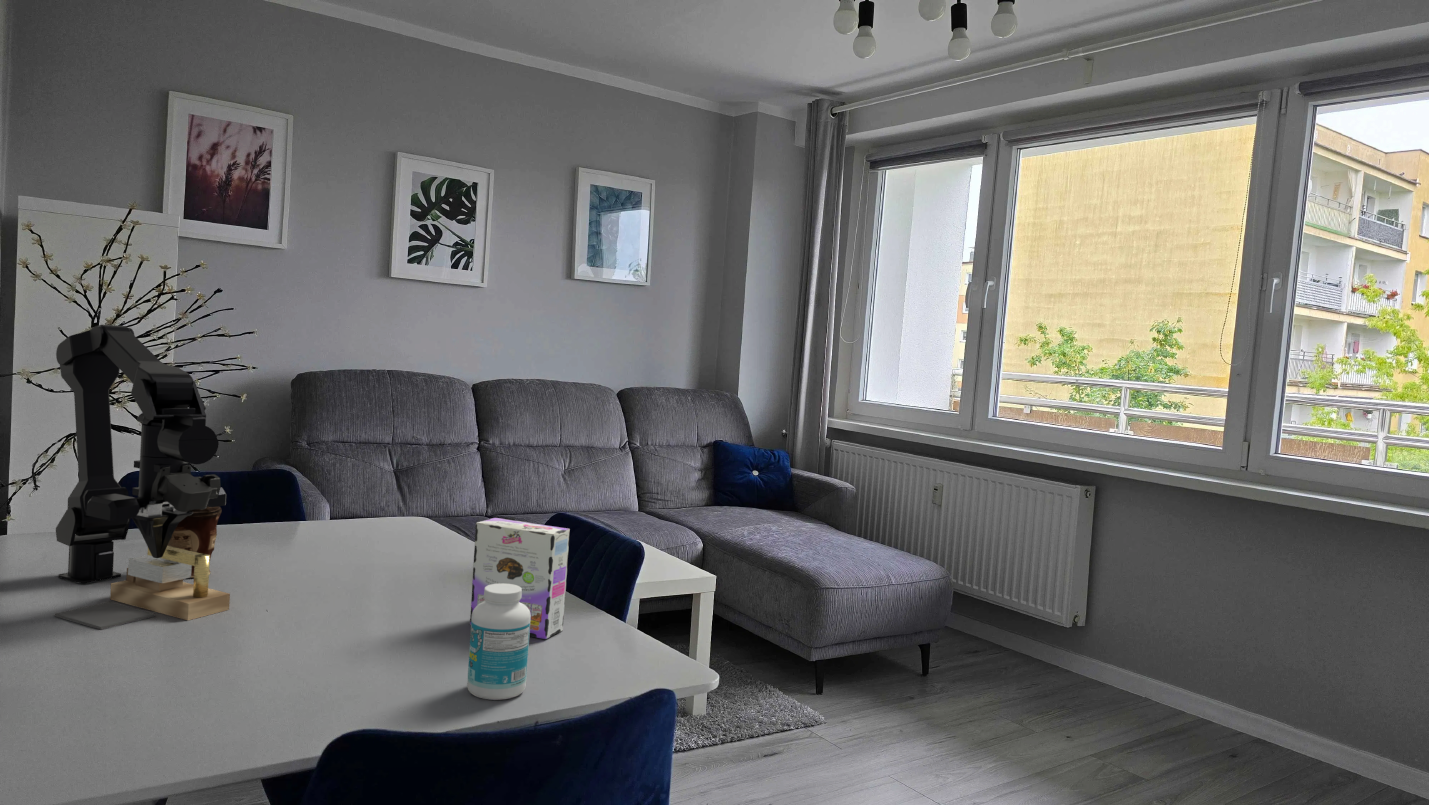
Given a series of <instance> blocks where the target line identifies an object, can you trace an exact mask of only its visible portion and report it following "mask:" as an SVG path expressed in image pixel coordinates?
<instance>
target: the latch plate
mask: <svg viewBox="0 0 1429 805" xmlns="http://www.w3.org/2000/svg"><path fill="white" fill-rule="evenodd" d="M125 577H126V579H125V580H120V581H116V582H111V583H110V595H109V599H110V601H111V600H112V601H114V602H119V603H122V604H124V605H125V604H126V605H130V606H133V607H137V608H141V609H143V610H147V611H148V610H149V611H151V612H156V613H159V614H162V615H166V616H169V617H174V618H178V619H180V620H186V621H191V620H192V621H193V620H195V619H198V618H202V617H206V616H211V615H213V614H217V613H222V612H225V611H229V610H230V603H231V602H230V600H231V593H229V592H225V591H220V590H217V589H213V588H209V587H208V596H206V597H193V584H194V583H190V582H189V583H188V582H186V581H184V579H181V580H176V581H172V582H167V583H158V582H154V581H150V580H146V579H142V578H139V577H135V576H131V575H128V567H126V576H125Z"/></svg>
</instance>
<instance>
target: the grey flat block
mask: <svg viewBox="0 0 1429 805" xmlns="http://www.w3.org/2000/svg"><path fill="white" fill-rule="evenodd" d="M127 568H128V575H131V576H135V577H139V578H142V579H146V580H150V581H154V582H158V583H167V582H172V581H176V580H181V579H183V580H186V579H189V578H192V577H191V568H192V565H188V564H183V563H179V562H175V561H171V560H167V559H162V558H153V557H152V556H150V555H142V556H136V557H132V558H128V567H127Z"/></svg>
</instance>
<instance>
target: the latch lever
mask: <svg viewBox="0 0 1429 805" xmlns="http://www.w3.org/2000/svg"><path fill="white" fill-rule="evenodd" d="M147 555H150V556H152V555H151V552H150V550H149V548H148V547H147ZM147 555H146V556H147ZM161 558H162V559H167V560H171V561H175V562H179V563H183V564H188V565H192V566H194V577H193V583H192V584H193V597H206V596H208V588H209V583H210V575H209V569H210V563H211V559H210V555H209V554H201V553H197V552H192V551H188V550H184V549H179V548H175V547H171V546H167V548H166V550H165V552H164V554H163V557H161Z"/></svg>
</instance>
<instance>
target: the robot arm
mask: <svg viewBox="0 0 1429 805" xmlns="http://www.w3.org/2000/svg"><path fill="white" fill-rule="evenodd" d="M55 355H56V361H57V363H58V365H59V369H60V370H59V372H60V376H61V378H62V379H63V380H64V382H65V383H66V384H67V386H68V387H69V388H70V389H71V391H72V392H73V395H74V396H73V397H74V400H73V401H74V415H75V432H76V433H75V435H76V436H75V437H76V452H77V453H76V454H77V455H76V456H77V470H78V474H77V475H78V481H77V484H76V485H75V486H74V488H73V490H72V491H71V493H70V494H69V496H68V498H67V509H66V510H65V512H64V513H63V515H62V517H61V519H60V520H59V522H58V524H57V525H56V527H55V535H56V542H58V543H60V544H63V545H66V546H67V547H68V564H67V566H68V569H67V572H64V573H59V574H58V575H57V577H58V578H59V579H63V580H65V581H70V582H74V583H77V584H84V585H85V584H91V583H96V582H102V581H105V580H110V579H115V578H120V577H122V573H120V572H117V571H114V562H115V561H114V559H115V558H114V556H115V553H114V545H115V543H114V541H120V540H121V541H125V540H126V539H127V535H128V532H129V528H130V524H131V519H132V521H133V522H134V524H135V526H136V527H137V529H138V530H139V531H140V534H141V535H142V537H143V539H144V541H145V544H146V546H147V549H148V548H149V550H150V552H151V555H152V557H153V558H161V557H163V554H164V552H165V550H166V548H167V545H168V543H169V541H170V539H171V537H172V534H173V532H174V530H175V529H176V527H177V525H178V523H179V522H180V521H182V520H183V519H184V518H185V517H187V516H189V515H192V514H193V511H190V510H195V509H200V510H203V509H206V507H207V506H208V507H217V506H219V507H223V506H226V504H227V493H226V491H225V490H224V488H223V487H221V477H219V475H217V474H215V473H214V474H204V475H202V476H193V475H192V466H191V465H202V464H205V463H208V462H209V461H210V460H212V459H213V457H215V455H216V453H218V452H217V451H218V449H219V439H218V436H217V434H216V433H215V431H214V430H213V429H212V428H211V427H209V426H207V425H206V423H207V414H206V409H207V407H206V405H205V402H204V400H203V399H202V397H201V395H200V393H199V390H198V387H197V384H196V382H195V381H194V379H193V377H192V375H191V374H190V373H188V372H186V371H185V370H183V369H182V368H180V367H177V366H174V365H173V366H172V365H169V364H166V363H164V362H162V361H161V360H160V359H159V358H158V357H157V356H156V355H154V353H152V352H151V350H150V349H149V348H148V347H147V346H146V345H145V344H144V343H143V342H142V341H140V340H139V339H138V338H137V336H135V332H134V329H133V328H131V327H128V326H127V325H116V324H99V325H95V326H94V327H92V328H90V330H85V331H81V332H78V333H75V334H72V335H69V336H68V337H66V338H65V339H63V341H61V342H60V343H59V344H58V345H57V347H56V352H55ZM120 371H121V372H122V373H123V375H125V376H126V377H127V379H128V380H130V382H131V384H132V387H131V388H132V389H131V391H130V395H132V397H133V399H134V401H135V403H136V404H137V406H138V408H139V410H140V411H141V413H139V415H138V416H137V418H136V421H137V422H139V423H141V427H140V428H141V430H140V433H141V434H140V448H139V449H140V450H139V451H140V452H139V453H140V454H139V460H133V468H134V469H135V468H136V469H139V472H138V473H139V475H138V487H137V486H136V487H132V491H131V492H132V495H133V496H137V497H133V496H129V491H128V489H127V487H125V486H121V484H120V483H119V482H118V481H117V480H116V478H115V476H114V472H115V471H114V458H113V457H114V456H113V454H114V453H113V436H112V424H111V405H110V404H111V402H110V389H111V388H112V387H113V385H114V384H115V382H116V381H117V379H118V377H119V376H120V373H121V372H120Z"/></svg>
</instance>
